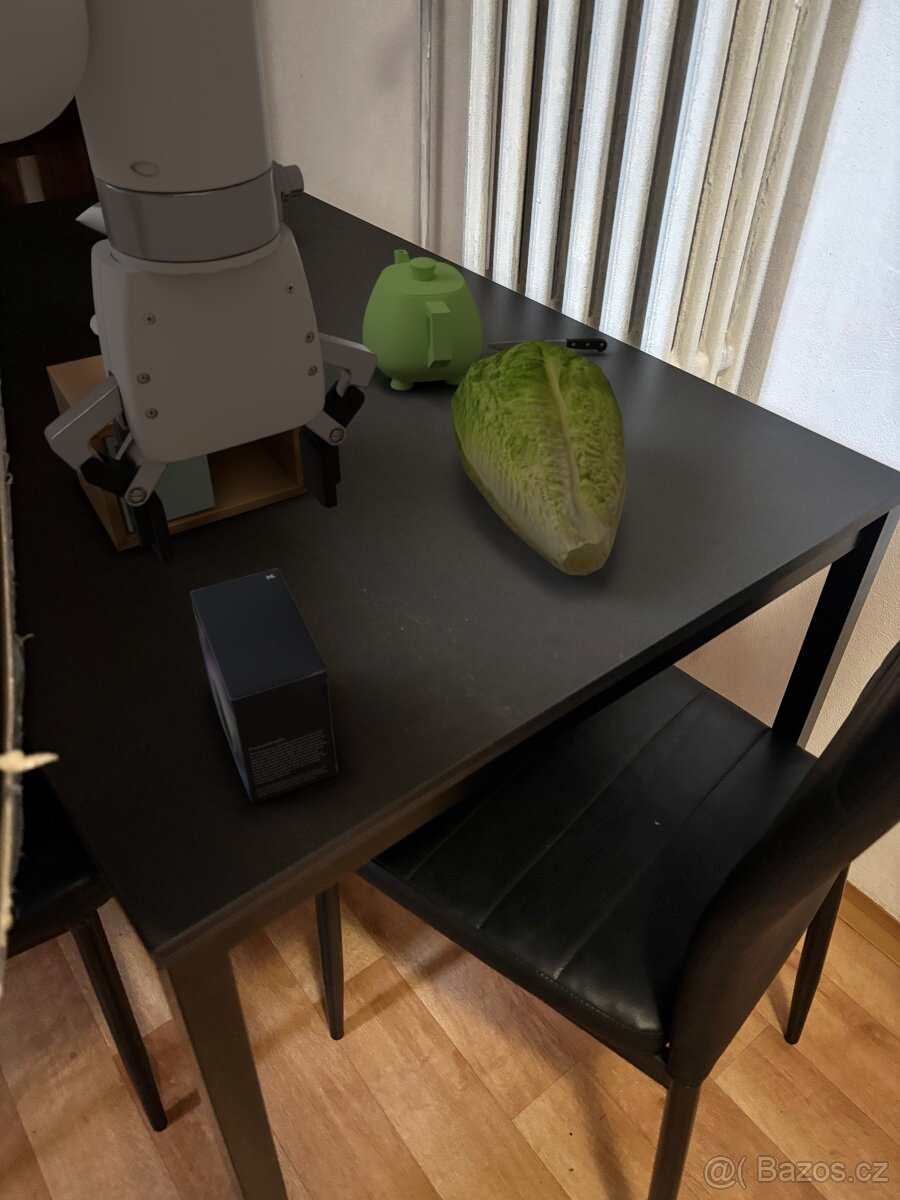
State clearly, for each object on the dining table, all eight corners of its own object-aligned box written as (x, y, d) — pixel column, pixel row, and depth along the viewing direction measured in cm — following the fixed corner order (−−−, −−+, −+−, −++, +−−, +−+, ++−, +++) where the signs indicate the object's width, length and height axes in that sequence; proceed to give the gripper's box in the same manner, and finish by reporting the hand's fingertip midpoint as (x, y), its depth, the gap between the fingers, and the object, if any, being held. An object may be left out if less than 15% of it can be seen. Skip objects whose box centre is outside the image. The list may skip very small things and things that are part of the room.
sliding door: (142, 555, 76) (107, 416, 67) (127, 529, 79) (91, 391, 70) (231, 527, 79) (208, 390, 70) (213, 503, 82) (189, 368, 73)
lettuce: (469, 552, 69) (653, 464, 65) (417, 363, 84) (563, 284, 81) (538, 642, 79) (699, 571, 76) (481, 460, 95) (612, 393, 91)
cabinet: (118, 551, 78) (85, 430, 70) (79, 483, 86) (46, 366, 78) (308, 492, 86) (298, 376, 78) (257, 434, 93) (243, 323, 85)
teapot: (349, 336, 111) (344, 231, 102) (455, 326, 113) (459, 223, 105) (382, 418, 96) (379, 303, 88) (502, 405, 99) (511, 292, 91)
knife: (483, 358, 107) (484, 342, 106) (483, 355, 108) (484, 339, 106) (605, 356, 109) (608, 340, 107) (604, 353, 109) (606, 337, 108)
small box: (207, 697, 66) (183, 587, 59) (293, 671, 68) (280, 563, 61) (247, 808, 59) (225, 699, 52) (342, 775, 61) (333, 666, 54)
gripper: (330, 158, 46) (349, 448, 57) (-34, 217, 39) (70, 534, 50) (404, 203, 41) (408, 509, 53) (6, 279, 34) (111, 613, 46)
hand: (243, 521), depth 51 cm, fingers open, 9 cm apart
